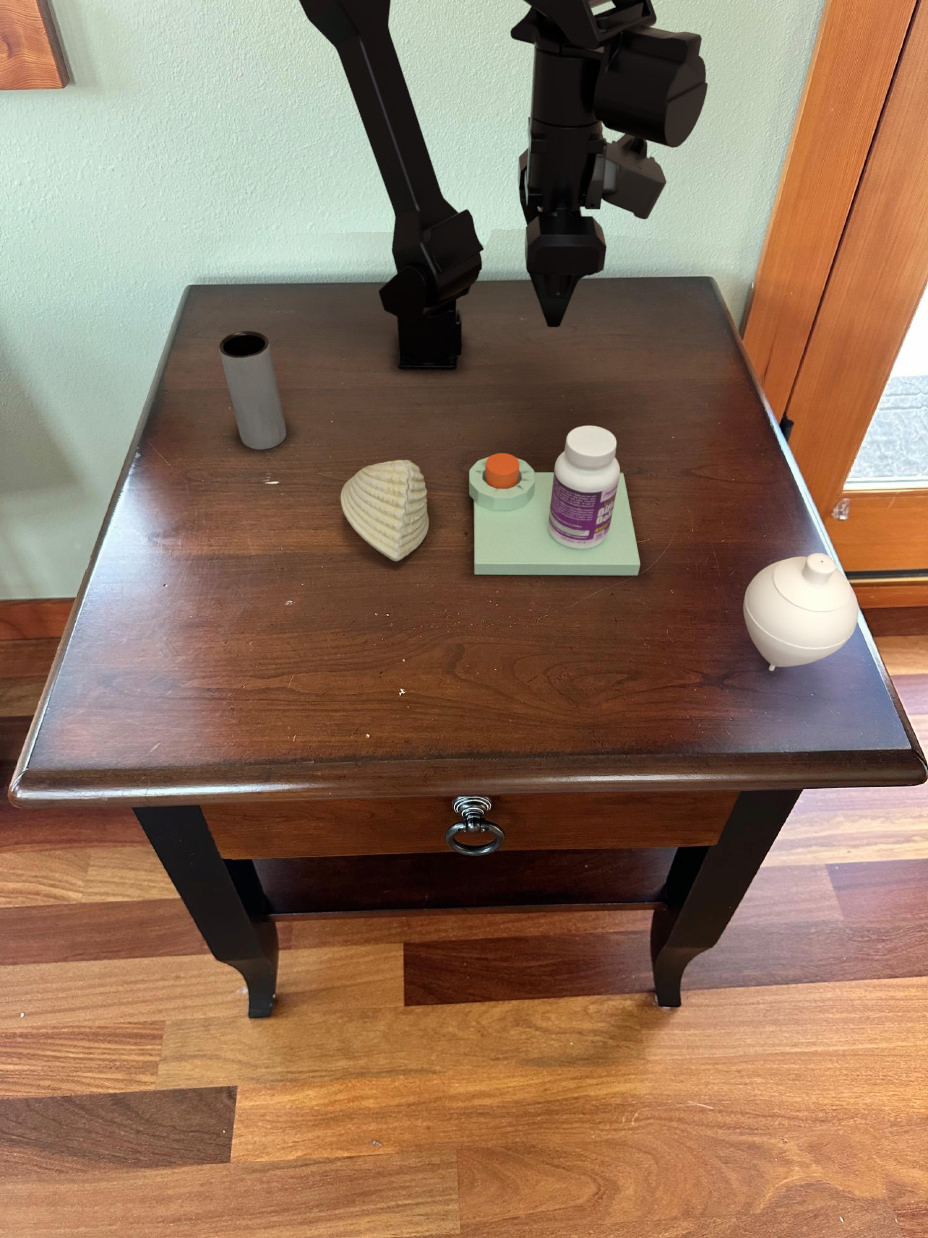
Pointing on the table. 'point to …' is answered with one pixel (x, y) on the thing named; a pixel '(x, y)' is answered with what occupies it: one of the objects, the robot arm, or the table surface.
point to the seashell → (388, 507)
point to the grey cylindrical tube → (253, 389)
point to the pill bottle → (584, 488)
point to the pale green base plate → (542, 531)
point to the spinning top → (800, 610)
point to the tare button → (502, 471)
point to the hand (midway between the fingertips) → (550, 299)
